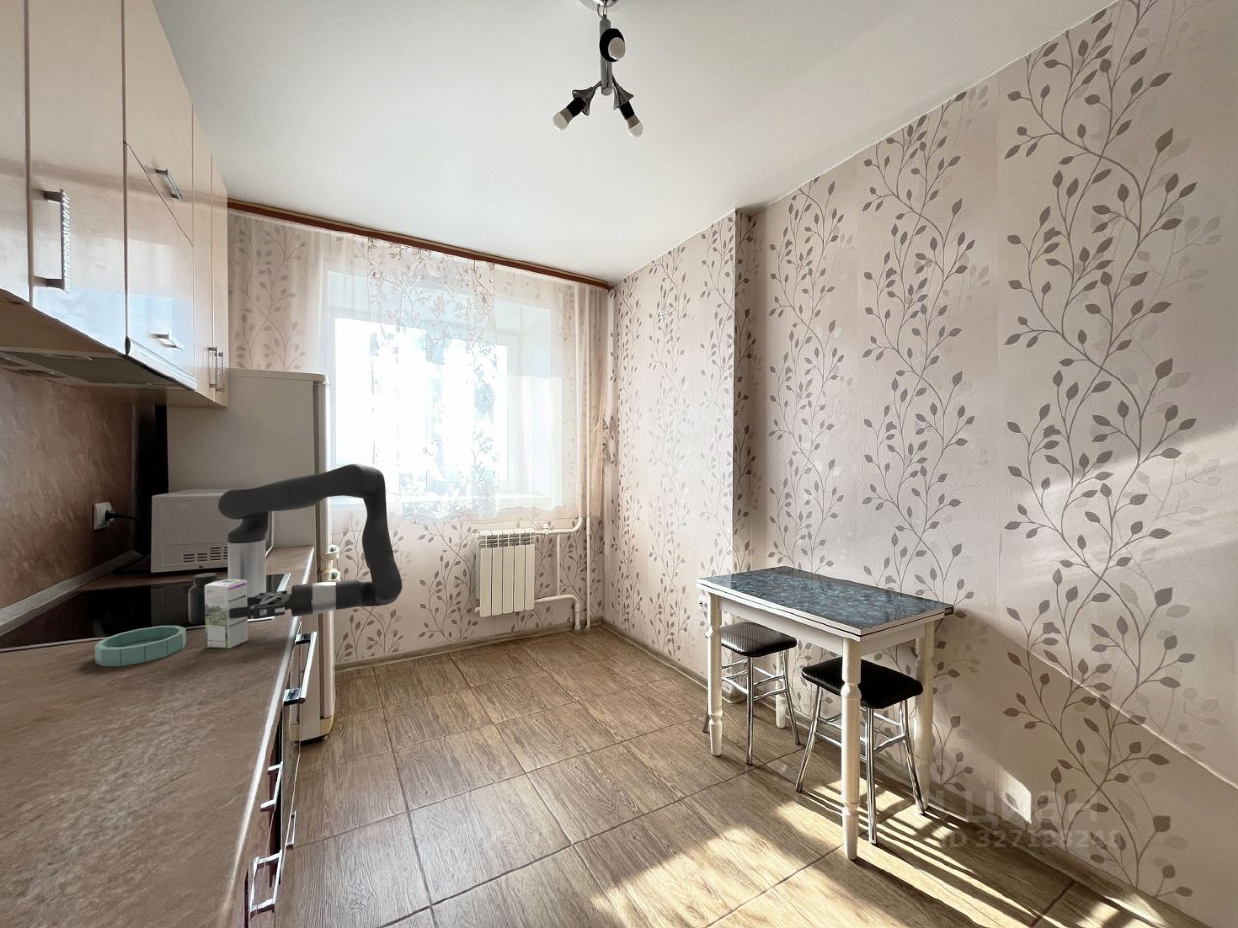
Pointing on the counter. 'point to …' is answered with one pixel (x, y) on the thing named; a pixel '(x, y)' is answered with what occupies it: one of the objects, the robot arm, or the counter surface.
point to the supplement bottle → (199, 597)
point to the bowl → (140, 645)
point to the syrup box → (225, 613)
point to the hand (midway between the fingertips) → (232, 608)
